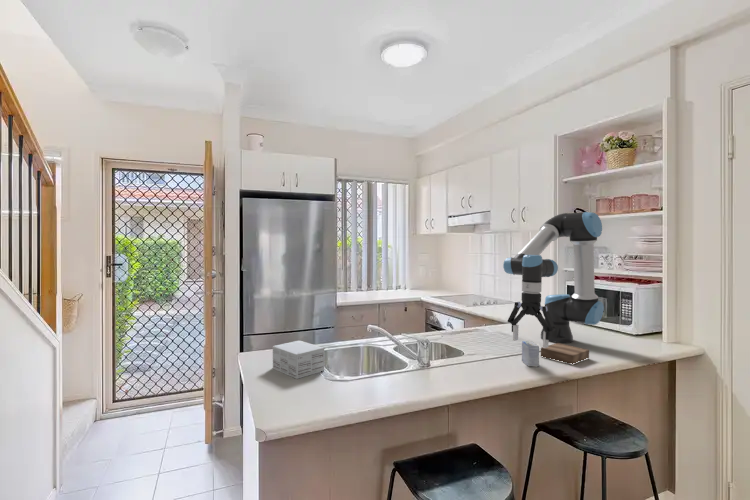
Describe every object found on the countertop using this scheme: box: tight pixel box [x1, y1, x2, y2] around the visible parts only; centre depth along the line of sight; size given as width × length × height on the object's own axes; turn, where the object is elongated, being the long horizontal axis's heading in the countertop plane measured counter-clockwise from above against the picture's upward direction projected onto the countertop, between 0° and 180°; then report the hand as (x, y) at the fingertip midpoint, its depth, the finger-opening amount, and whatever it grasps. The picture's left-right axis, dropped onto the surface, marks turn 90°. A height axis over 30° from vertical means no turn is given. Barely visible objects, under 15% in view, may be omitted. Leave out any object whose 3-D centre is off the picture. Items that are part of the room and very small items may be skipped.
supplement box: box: [272, 340, 325, 380], centre depth 155 cm, size 17×13×9 cm
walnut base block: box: [540, 342, 590, 364], centre depth 172 cm, size 14×14×4 cm
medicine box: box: [521, 340, 540, 367], centre depth 163 cm, size 8×4×9 cm, turn 179°
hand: (530, 343), depth 163 cm, fingers open, 13 cm apart
